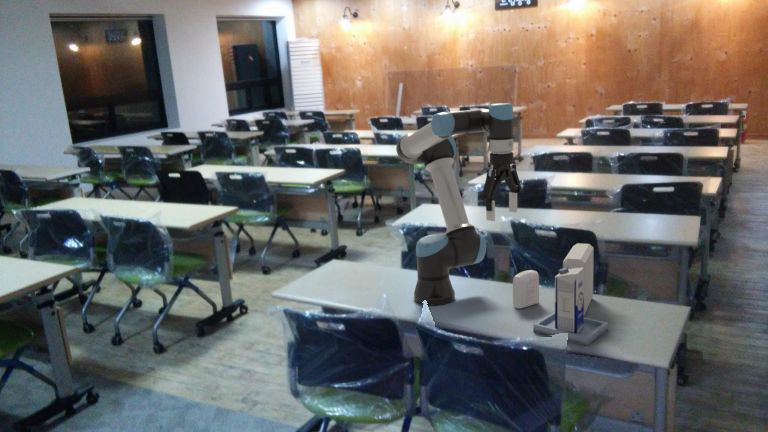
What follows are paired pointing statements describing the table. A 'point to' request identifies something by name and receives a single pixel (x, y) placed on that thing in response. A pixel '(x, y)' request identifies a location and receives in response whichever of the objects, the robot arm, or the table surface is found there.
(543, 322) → the tray
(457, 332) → the table surface
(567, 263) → the bevelled white case
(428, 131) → the robot arm
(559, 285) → the milk carton
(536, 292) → the photo printer
